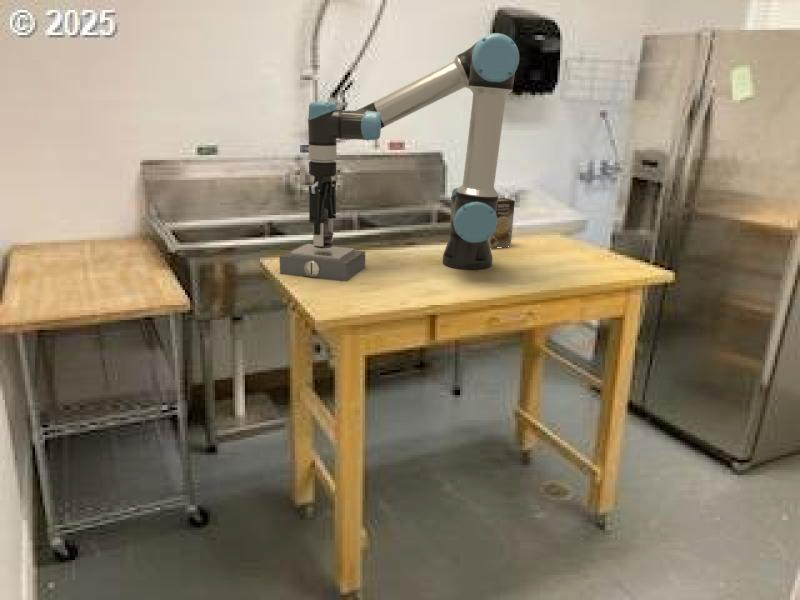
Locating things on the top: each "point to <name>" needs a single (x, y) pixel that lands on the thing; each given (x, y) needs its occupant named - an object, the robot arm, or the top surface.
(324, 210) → the dark chess piece
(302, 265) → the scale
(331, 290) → the top surface
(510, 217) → the coffee box
